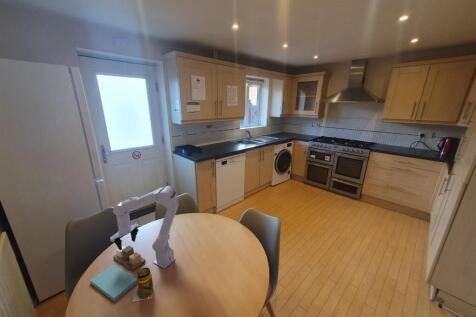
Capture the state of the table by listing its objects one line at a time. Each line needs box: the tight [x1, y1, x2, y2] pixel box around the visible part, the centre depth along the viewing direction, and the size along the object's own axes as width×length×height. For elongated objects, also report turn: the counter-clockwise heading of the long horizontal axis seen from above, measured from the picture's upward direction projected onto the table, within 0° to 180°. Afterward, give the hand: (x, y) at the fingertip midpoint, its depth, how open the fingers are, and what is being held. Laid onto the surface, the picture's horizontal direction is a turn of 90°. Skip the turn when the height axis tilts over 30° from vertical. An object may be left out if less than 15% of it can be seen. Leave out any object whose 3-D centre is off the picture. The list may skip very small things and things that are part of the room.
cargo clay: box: [129, 251, 142, 265], centre depth 103 cm, size 4×4×4 cm
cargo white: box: [115, 245, 127, 258], centre depth 108 cm, size 4×4×4 cm
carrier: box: [112, 245, 146, 272], centre depth 105 cm, size 18×7×8 cm, turn 63°
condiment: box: [132, 267, 157, 303], centre depth 86 cm, size 7×8×12 cm
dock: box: [89, 264, 138, 303], centre depth 92 cm, size 20×11×2 cm, turn 63°
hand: (127, 245), depth 104 cm, fingers open, 7 cm apart
